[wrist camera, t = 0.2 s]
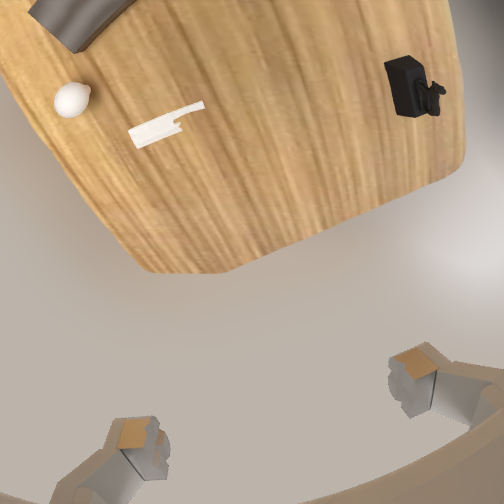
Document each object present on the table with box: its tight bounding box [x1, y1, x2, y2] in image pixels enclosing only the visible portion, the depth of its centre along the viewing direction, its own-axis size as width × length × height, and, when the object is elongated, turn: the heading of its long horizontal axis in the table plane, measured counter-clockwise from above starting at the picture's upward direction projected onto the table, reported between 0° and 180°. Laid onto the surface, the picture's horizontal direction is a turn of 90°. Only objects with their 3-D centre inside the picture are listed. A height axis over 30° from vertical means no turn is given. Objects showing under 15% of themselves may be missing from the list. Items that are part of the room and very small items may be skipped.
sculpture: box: [384, 55, 446, 118], centre depth 48 cm, size 8×13×15 cm, turn 23°
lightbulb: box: [54, 82, 91, 118], centre depth 40 cm, size 6×6×11 cm
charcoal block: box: [28, 0, 136, 54], centre depth 31 cm, size 14×14×5 cm
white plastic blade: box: [128, 100, 205, 149], centre depth 53 cm, size 5×15×1 cm, turn 105°
